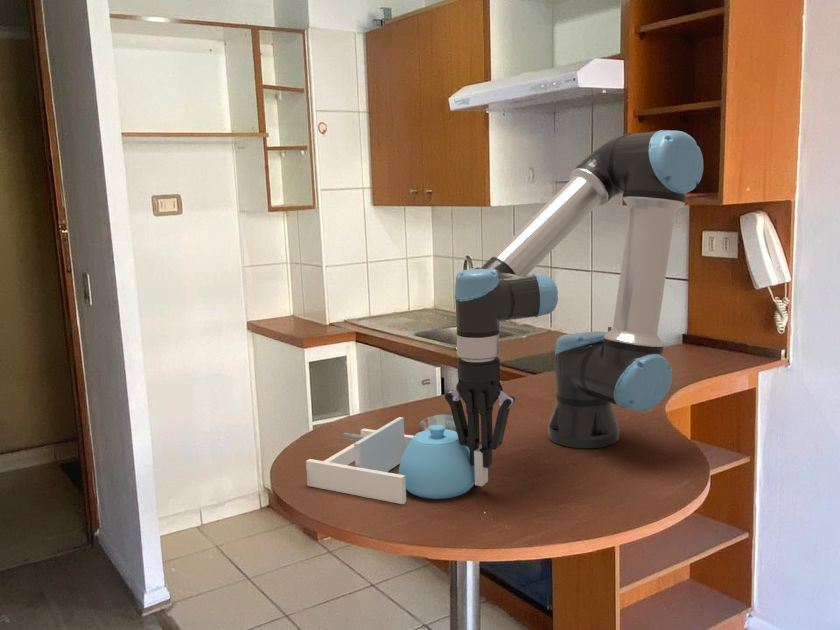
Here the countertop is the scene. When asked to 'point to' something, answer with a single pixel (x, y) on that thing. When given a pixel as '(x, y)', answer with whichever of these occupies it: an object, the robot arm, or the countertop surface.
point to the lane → (356, 476)
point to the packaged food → (439, 422)
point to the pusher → (380, 447)
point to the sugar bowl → (437, 464)
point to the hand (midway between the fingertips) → (481, 482)
